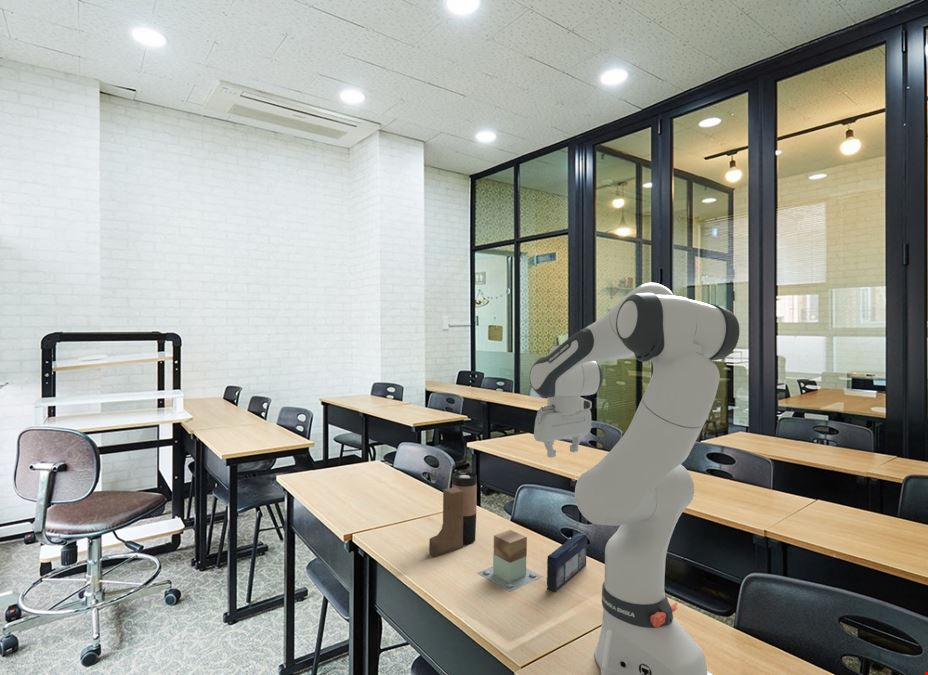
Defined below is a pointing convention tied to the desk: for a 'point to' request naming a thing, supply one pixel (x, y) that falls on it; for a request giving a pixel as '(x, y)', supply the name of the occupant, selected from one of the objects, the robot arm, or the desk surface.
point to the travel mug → (467, 503)
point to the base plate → (512, 585)
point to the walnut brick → (510, 546)
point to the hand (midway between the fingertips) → (562, 454)
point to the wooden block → (449, 524)
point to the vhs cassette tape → (566, 562)
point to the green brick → (509, 569)
